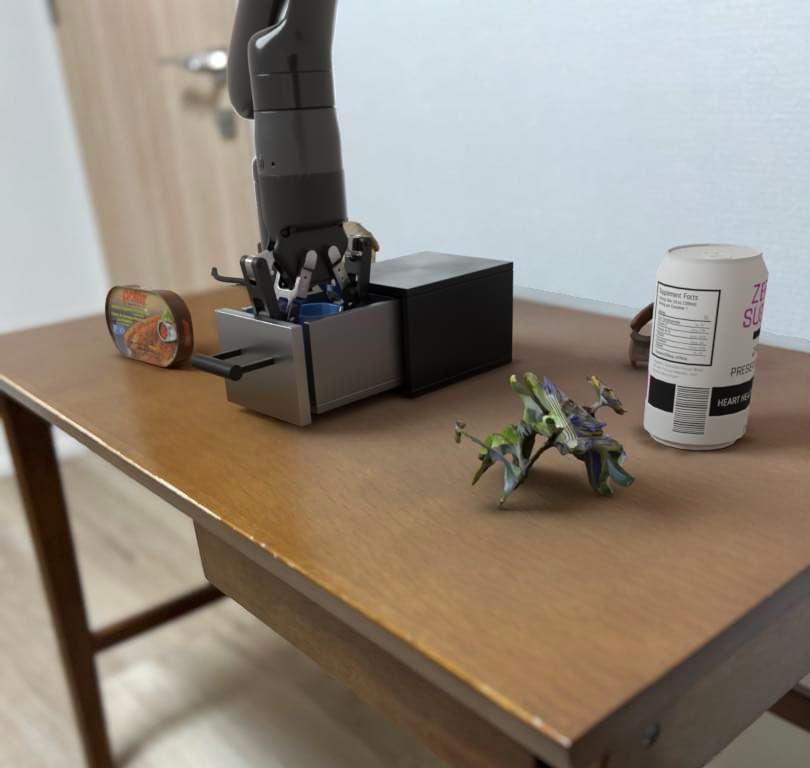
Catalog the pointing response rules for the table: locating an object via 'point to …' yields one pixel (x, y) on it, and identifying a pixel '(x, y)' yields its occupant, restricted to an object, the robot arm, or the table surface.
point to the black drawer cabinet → (449, 316)
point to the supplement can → (704, 344)
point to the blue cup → (315, 312)
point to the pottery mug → (640, 336)
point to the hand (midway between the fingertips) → (318, 356)
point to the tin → (149, 324)
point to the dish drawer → (309, 357)
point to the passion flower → (555, 436)
